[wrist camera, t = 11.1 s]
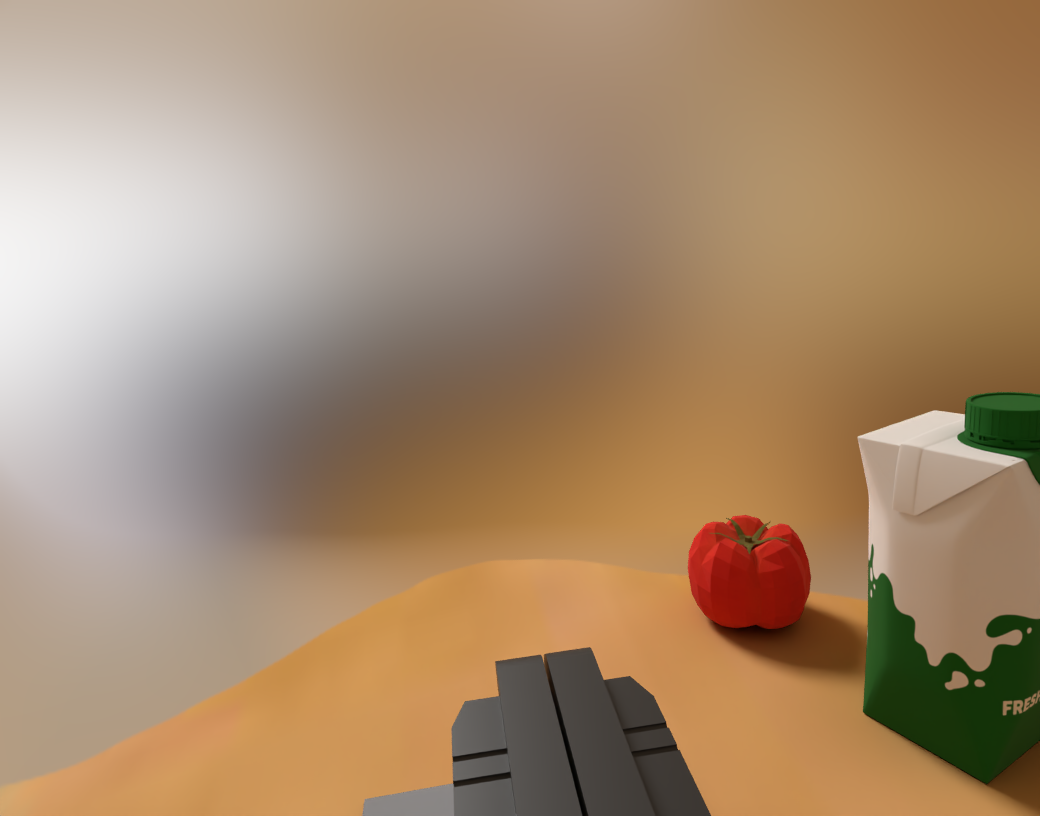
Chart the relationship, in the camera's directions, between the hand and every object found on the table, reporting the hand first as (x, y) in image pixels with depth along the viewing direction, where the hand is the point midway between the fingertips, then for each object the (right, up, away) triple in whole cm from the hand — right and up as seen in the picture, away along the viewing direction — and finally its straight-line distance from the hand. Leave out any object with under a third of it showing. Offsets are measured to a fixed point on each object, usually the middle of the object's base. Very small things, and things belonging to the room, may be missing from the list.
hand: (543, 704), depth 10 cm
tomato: (+18, -12, +43) cm, 48 cm away
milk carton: (+26, -14, +30) cm, 42 cm away
